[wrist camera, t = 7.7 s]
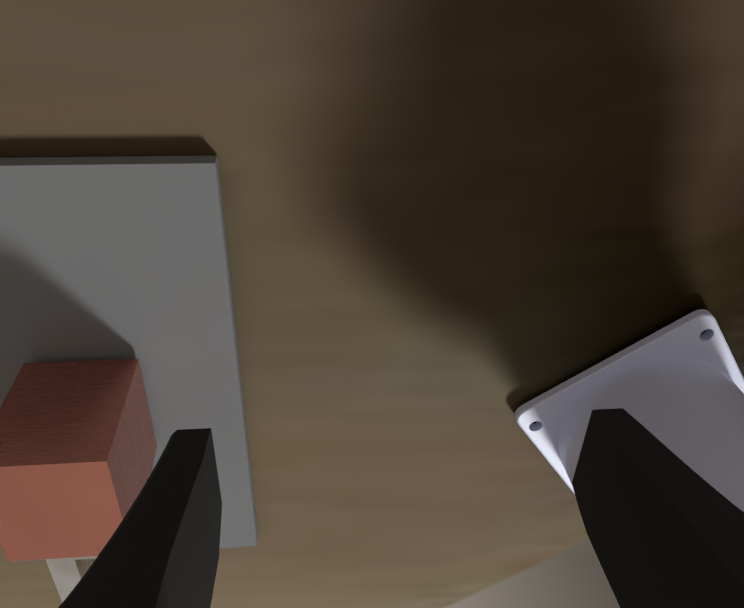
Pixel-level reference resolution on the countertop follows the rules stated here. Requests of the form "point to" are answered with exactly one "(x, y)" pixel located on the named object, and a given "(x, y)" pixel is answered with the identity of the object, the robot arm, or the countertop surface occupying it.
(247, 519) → the mat
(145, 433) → the pink cube with handle
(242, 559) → the countertop surface
